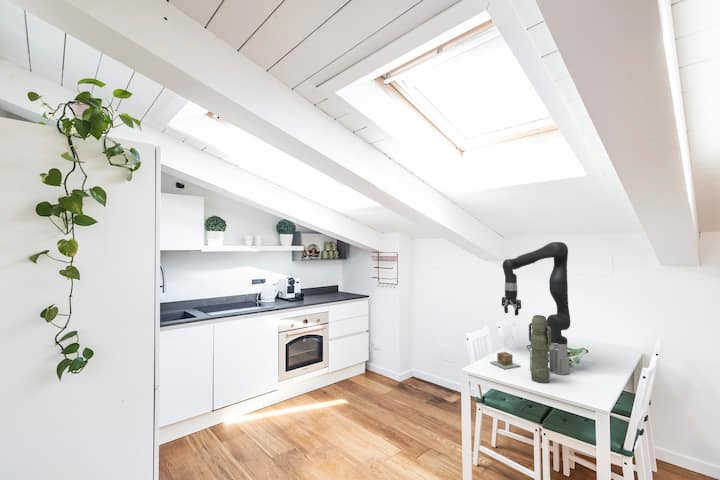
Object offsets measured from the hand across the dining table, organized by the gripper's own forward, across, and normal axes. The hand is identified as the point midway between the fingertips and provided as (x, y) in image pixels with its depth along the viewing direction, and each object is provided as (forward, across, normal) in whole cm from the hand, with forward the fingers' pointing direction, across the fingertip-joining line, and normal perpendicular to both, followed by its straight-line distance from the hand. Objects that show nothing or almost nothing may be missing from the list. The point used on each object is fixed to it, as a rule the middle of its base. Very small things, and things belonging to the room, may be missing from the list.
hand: (511, 314), depth 226 cm
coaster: (+28, -10, +15) cm, 33 cm away
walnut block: (+27, -10, +15) cm, 33 cm away
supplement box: (+28, -24, +4) cm, 37 cm away
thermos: (+28, -35, +15) cm, 47 cm away
